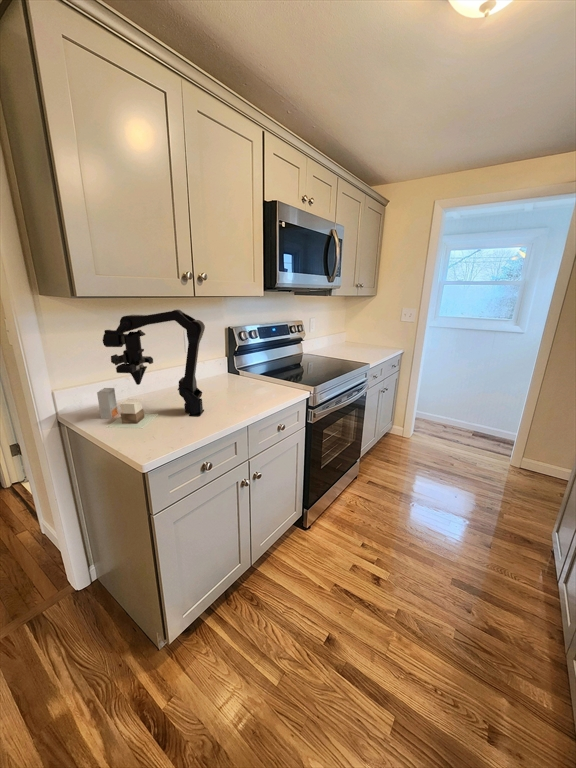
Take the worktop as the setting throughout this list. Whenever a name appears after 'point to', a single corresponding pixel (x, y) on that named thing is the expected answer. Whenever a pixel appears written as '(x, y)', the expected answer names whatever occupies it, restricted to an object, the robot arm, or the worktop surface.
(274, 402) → the worktop surface
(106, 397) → the skincare box
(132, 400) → the brick cream
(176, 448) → the worktop surface
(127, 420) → the brick walnut
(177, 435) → the worktop surface
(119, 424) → the baseplate
